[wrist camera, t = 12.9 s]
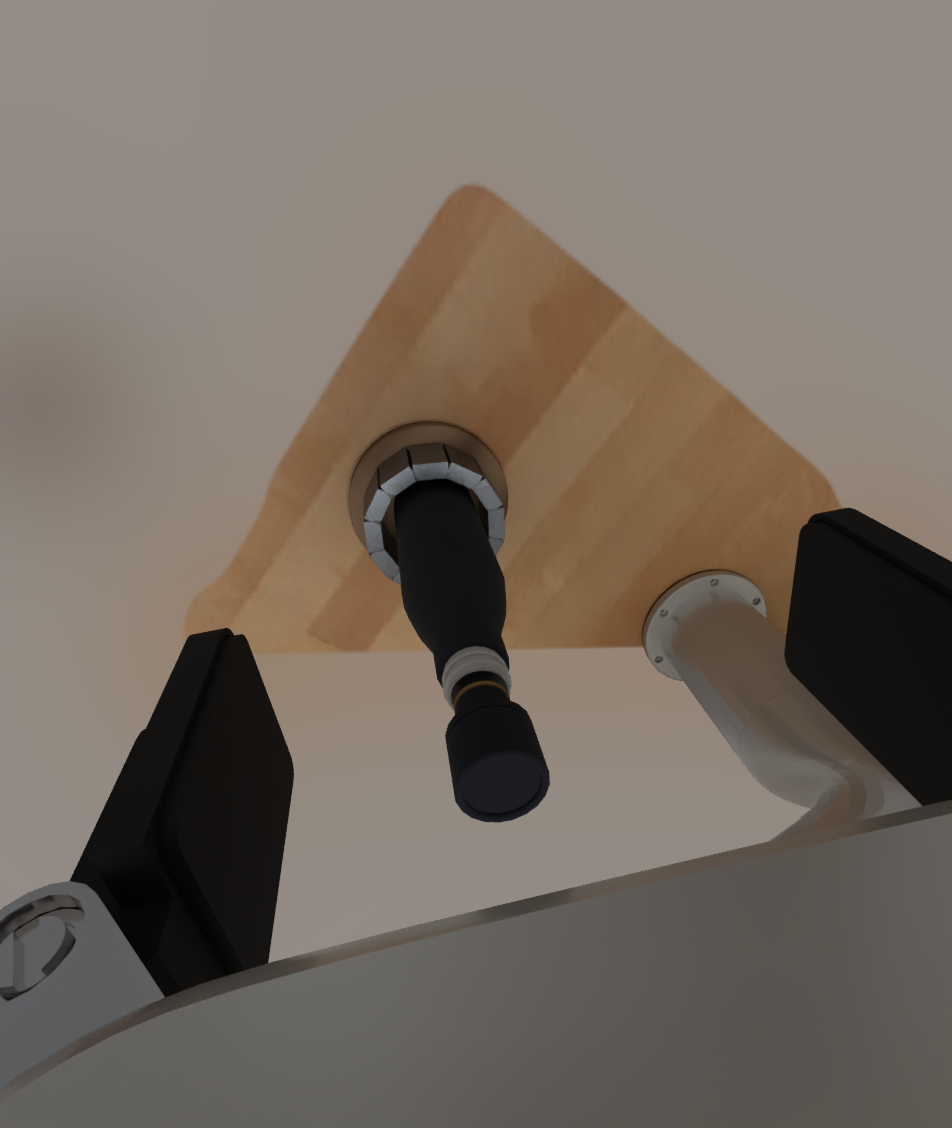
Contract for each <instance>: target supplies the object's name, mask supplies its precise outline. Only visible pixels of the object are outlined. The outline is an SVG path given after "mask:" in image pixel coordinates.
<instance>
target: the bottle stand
mask: <svg viewBox="0 0 952 1128" xmlns="http://www.w3.org/2000/svg"><path fill="white" fill-rule="evenodd" d="M442 478H448V479H450V480H452V481H454V482H457V483H459V484H461V485H464V486H466V487H467V489H468V491H469V493H470V495H471V498H472V500H473V502H474V505H475V507H476V510H477V512H478V515H479V517H480V520H481V522H482V525H483V527H484V529H485V532H486V534H487V537H488V539H489V542H490V544H491V547H492V549H493V551H494V554H495V556H496V554H497V553H498V551H499V549H500V547H501V546H502V544H503V542H504V540H503V538H505V528H504V521H505V518H506V514H507V508H508V491H507V485H506V481H505V477H504V475H503V472H502V470H501V468H500V466H499V464H498V463H497V461H496V459H495V457H494V456H493V454H492V453H491V452H490V450H489V449H488V448H487V447H486V446H485V445H484V444H483V443H482V442H481V441H480V440H479V439H478V438H476V437H475V436H474V435H472V434H470V433H469V432H467V431H465V430H463V429H461V428H458V427H456V426H453V425H449V424H445V423H438V422H419V423H412V424H408V425H405V426H401V427H399V428H397V429H394V430H392V431H390V432H388V433H387V434H385V435H383V436H382V437H380V438H379V439H378V440H377V441H375V442H374V443H373V444H372V445H371V446H370V447H369V448H368V449H367V450H366V452H365V453H364V454H363V456H362V457H361V459H360V460H359V462H358V464H357V466H356V468H355V471H354V473H353V476H352V480H351V485H350V494H349V512H350V517H351V522H352V525H353V528H354V530H355V533H356V535H357V536H358V538H359V540H360V542H361V543H362V544H363V546H364V547H365V548H366V549H367V550H368V553H369V556H370V557H371V559H372V560H373V561H374V562H375V563H376V564H377V566H378V567H379V568H380V569H381V570H382V571H383V573H384V574H385V575H386V576H387V577H388V578H389V579H390V578H392V581H393V582H396V583H398V584H401V580H400V570H399V559H398V549H397V539H396V528H395V518H394V507H393V506H394V500H395V495H397V494H398V493H400V492H401V491H403V490H404V489H406V488H407V487H409V486H410V485H411V484H413V483H414V482H416V481H421V480H431V479H442Z"/></svg>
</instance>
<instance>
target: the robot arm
mask: <svg viewBox="0 0 952 1128" xmlns="http://www.w3.org/2000/svg"><path fill="white" fill-rule="evenodd" d="M766 618H767V612H766V604H765V600H764V598H763V596H762V594H761V592H760V590H759V589H758V588H757V587H756V586H755V585H754V584H753V583H751V582H750V581H749V580H748V579H746V578H745V577H743V576H741V575H739V574H737V573H733V572H729V571H708V572H702V573H699V574H696V575H693V576H690V577H688V578H686V579H684V580H682V581H680V582H679V583H677V584H676V585H674V586H673V587H672V588H670V589H669V590H668V591H667V592H666V593H665V594H664V595H663V596H662V597H661V598H659V600H658V601H657V602H656V604H655V605H654V606H653V608H652V609H651V611H650V613H649V615H648V617H647V620H646V623H645V626H644V631H643V645H644V649H645V652H646V655H647V657H648V658H649V660H650V661H651V663H652V664H653V666H654V667H655V668H656V669H657V670H658V671H659V672H661V673H662V674H664V675H666V676H667V677H669V678H672V679H675V680H680V681H684V682H685V684H686V685H687V686H688V688H689V689H690V691H691V692H692V693H693V695H694V696H695V697H696V699H697V700H698V702H699V703H700V704H701V705H702V707H703V709H704V710H705V711H706V713H707V714H708V715H709V717H710V718H711V720H712V721H713V722H714V724H715V725H716V726H717V728H718V729H719V731H720V732H721V733H722V735H723V736H724V737H725V739H726V740H727V742H728V743H729V744H730V746H731V747H732V749H733V750H734V751H735V753H736V754H737V755H738V757H739V758H740V760H741V761H742V762H743V764H744V765H745V766H746V768H747V769H748V770H749V772H750V773H751V774H752V776H753V777H754V778H755V779H756V780H757V781H758V782H759V783H760V784H761V785H762V786H763V787H765V788H766V789H767V790H769V791H770V792H772V793H773V794H775V795H777V796H778V797H781V798H783V799H785V800H787V801H789V802H792V803H795V804H798V805H801V806H804V807H807V808H810V809H811V810H810V811H808V812H807V813H806V814H805V815H803V816H802V817H801V819H799V820H798V821H797V822H795V823H794V824H793V825H791V826H790V827H788V828H787V829H785V830H784V831H783V832H781V833H780V834H778V835H777V836H776V837H774V838H773V839H771V840H770V841H769V842H765V843H761V844H756V845H752V846H748V847H744V848H739V849H735V850H731V851H727V852H722V853H718V854H713V855H710V856H705V857H701V858H697V859H692V860H688V861H684V862H679V863H675V864H671V865H667V866H663V867H658V868H654V869H650V870H645V871H641V872H637V873H633V874H628V875H624V876H620V877H615V878H611V879H607V880H603V881H599V882H594V883H591V884H586V885H582V886H578V887H574V888H569V889H565V890H562V891H557V892H553V893H549V894H544V895H540V896H536V897H532V898H528V899H524V900H519V901H515V902H511V903H507V904H503V905H498V906H494V907H491V908H486V909H482V910H478V911H474V912H469V913H465V914H461V915H457V916H453V917H449V918H444V919H440V920H436V921H432V922H428V923H424V924H419V925H415V926H411V927H407V928H403V929H399V930H395V931H391V932H388V933H383V934H380V935H376V936H372V937H368V938H364V939H361V940H356V941H353V942H348V943H345V944H341V945H337V946H333V947H329V948H325V949H321V950H317V951H314V952H310V953H306V954H302V955H298V956H294V957H290V958H286V959H283V960H279V961H275V962H271V963H268V959H269V952H270V946H271V938H272V931H273V924H274V917H275V910H276V903H277V895H278V888H279V881H280V874H281V866H282V860H283V852H284V845H285V838H286V831H287V824H288V816H289V809H290V802H291V795H292V788H293V780H294V769H293V763H292V759H291V755H290V752H289V750H288V747H287V745H286V742H285V739H284V736H283V734H282V731H281V728H280V726H279V723H278V720H277V718H276V715H275V713H274V710H273V707H272V704H271V702H270V699H269V697H268V694H267V691H266V689H265V686H264V683H263V681H262V678H261V675H260V673H259V670H258V668H257V665H256V662H255V659H254V657H253V654H252V651H251V649H250V646H249V643H248V641H247V639H246V637H245V636H244V635H242V634H240V635H235V636H234V634H233V633H232V631H231V630H230V629H228V628H224V629H219V630H213V631H208V632H203V633H198V634H193V635H190V636H189V637H188V639H187V640H186V643H185V645H184V647H183V649H182V651H181V653H180V656H179V658H178V660H177V662H176V664H175V667H174V669H173V671H172V673H171V675H170V678H169V680H168V682H167V684H166V686H165V688H164V691H163V693H162V695H161V697H160V699H159V701H158V704H157V706H156V708H155V710H154V712H153V714H152V717H151V719H150V721H149V723H148V725H147V727H146V729H144V730H143V731H141V733H140V734H139V736H138V738H137V739H136V741H135V743H134V745H133V747H132V749H131V752H130V753H129V756H128V758H127V760H126V762H125V764H124V766H123V768H122V771H121V773H120V775H119V777H118V779H117V781H116V783H115V785H114V788H113V790H112V792H111V794H110V796H109V798H108V800H107V802H106V805H105V807H104V809H103V811H102V813H101V815H100V818H99V820H98V822H97V824H96V826H95V828H94V830H93V832H92V834H91V837H90V839H89V841H88V843H87V845H86V848H85V849H84V851H83V854H82V856H81V858H80V860H79V862H78V865H77V866H76V869H75V871H74V873H73V875H72V877H71V879H70V881H69V882H62V883H55V884H50V885H47V886H44V887H42V888H39V889H37V890H34V891H31V892H29V893H27V894H25V895H23V896H22V897H20V898H18V899H17V900H15V901H13V902H12V903H10V904H8V905H7V906H5V907H4V908H2V909H1V910H0V1128H952V562H951V561H949V560H947V559H946V558H944V557H942V556H940V555H938V554H936V553H935V552H932V551H931V550H929V549H927V548H925V547H923V546H922V545H920V544H918V543H916V542H914V541H912V540H910V539H909V538H907V537H905V536H903V535H901V534H899V533H898V532H896V531H894V530H892V529H890V528H888V527H887V526H885V525H883V524H881V523H879V522H877V521H876V520H874V519H872V518H870V517H868V516H866V515H865V514H863V513H861V512H859V511H857V510H855V509H852V508H844V509H839V510H834V511H828V512H823V513H818V514H815V515H813V516H812V517H811V518H810V519H809V521H808V524H806V525H804V526H803V527H802V529H801V530H800V534H799V541H798V549H797V557H796V565H795V572H794V580H793V588H792V596H791V603H790V611H789V619H788V627H787V634H786V637H785V636H784V635H783V634H782V633H781V632H780V631H779V630H778V629H777V628H776V627H775V626H774V625H772V624H771V623H770V622H769V621H768V620H767V619H766Z"/></svg>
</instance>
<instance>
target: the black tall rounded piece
mask: <svg viewBox="0 0 952 1128" xmlns="http://www.w3.org/2000/svg"><path fill="white" fill-rule="evenodd" d="M393 507H394V518H395V528H396V539H397V549H398V559H399V570H400V580H401V590H402V598H403V604H404V608H405V611H406V613H407V615H408V618H409V620H410V621H411V623H412V625H413V627H414V629H415V630H416V632H417V634H418V636H419V637H420V639H421V640H422V641H423V643H424V644H425V645H426V646H427V647H428V648H429V649H430V651H431V652H432V653H433V655H434V661H435V668H436V674H437V679H438V681H439V683H440V684H441V686H442V688H443V690H444V697H445V699H446V700H447V702H448V704H449V705H450V706H451V707H452V709H453V710H454V711H455V716H454V717H453V718H452V720H451V721H450V723H449V724H448V728H447V731H446V735H445V737H446V744H447V751H448V757H449V763H450V770H451V776H452V782H453V789H454V795H455V801H456V803H457V804H458V806H459V807H460V809H461V810H462V811H463V812H464V813H465V814H467V815H468V816H470V817H471V818H474V819H477V820H480V821H484V822H503V821H509V820H513V819H516V818H518V817H520V816H523V815H525V814H527V813H528V812H529V811H531V810H532V809H534V808H535V807H536V806H538V804H539V803H540V802H541V801H542V799H543V798H544V797H545V795H546V792H547V790H548V787H549V785H550V781H549V770H548V768H547V765H546V762H545V759H544V756H543V753H542V750H541V747H540V744H539V741H538V738H537V735H536V733H535V730H534V727H533V724H532V721H531V719H530V717H529V715H528V713H527V711H526V710H524V709H523V708H522V707H521V706H520V705H519V704H517V703H515V702H512V701H510V697H509V696H510V690H511V677H510V675H509V673H508V671H509V657H508V654H507V651H506V648H505V645H504V642H503V639H502V637H501V634H502V630H503V626H504V621H505V617H506V592H505V580H504V576H503V573H502V571H501V569H500V566H499V564H498V561H497V559H496V556H495V554H494V551H493V549H492V547H491V544H490V542H489V539H488V537H487V534H486V532H485V529H484V527H483V525H482V522H481V520H480V517H479V515H478V512H477V510H476V507H475V505H474V502H473V500H472V498H471V495H470V493H469V491H468V489H467V487H466V486H464V485H461V484H459V483H457V482H454V481H452V480H450V479H448V478H442V479H431V480H421V481H416V482H414V483H413V484H411V485H410V486H409V487H407V488H406V489H404V490H403V491H401V492H400V493H398V494H397V495H395V500H394V506H393Z"/></svg>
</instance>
